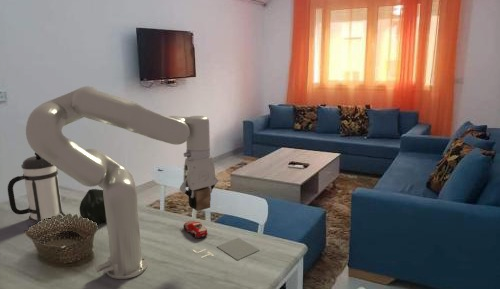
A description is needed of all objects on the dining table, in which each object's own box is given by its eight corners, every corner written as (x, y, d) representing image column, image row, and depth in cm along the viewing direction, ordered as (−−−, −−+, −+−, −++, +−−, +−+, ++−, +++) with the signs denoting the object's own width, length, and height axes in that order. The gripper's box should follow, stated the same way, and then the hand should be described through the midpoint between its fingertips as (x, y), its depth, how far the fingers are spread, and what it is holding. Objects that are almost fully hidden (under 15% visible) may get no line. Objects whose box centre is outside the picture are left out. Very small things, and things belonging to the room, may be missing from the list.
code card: (201, 264, 121) (201, 264, 121) (182, 250, 130) (182, 250, 130) (223, 255, 127) (223, 254, 127) (204, 242, 136) (204, 242, 136)
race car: (181, 228, 148) (181, 218, 147) (193, 224, 151) (193, 215, 150) (196, 240, 137) (196, 231, 136) (209, 236, 140) (209, 227, 139)
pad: (237, 260, 124) (237, 259, 123) (216, 247, 132) (216, 246, 132) (259, 250, 130) (259, 249, 130) (238, 238, 139) (238, 237, 139)
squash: (128, 201, 162) (102, 177, 159) (115, 216, 147) (87, 190, 145) (106, 220, 165) (81, 197, 162) (92, 237, 150) (64, 212, 147)
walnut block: (197, 211, 121) (197, 191, 120) (189, 206, 125) (189, 187, 123) (210, 207, 124) (209, 187, 123) (202, 203, 128) (201, 184, 126)
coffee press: (38, 211, 165) (28, 146, 158) (73, 211, 165) (64, 146, 158) (12, 228, 149) (0, 157, 142) (51, 229, 148) (40, 157, 141)
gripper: (181, 160, 112) (183, 215, 116) (226, 151, 123) (226, 202, 127) (169, 155, 118) (172, 208, 122) (213, 147, 128) (214, 196, 133)
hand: (200, 204), depth 124 cm, fingers closed on walnut block, 5 cm apart
